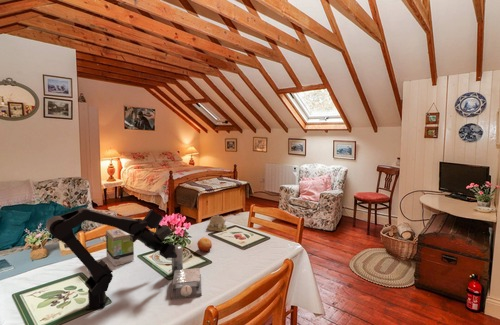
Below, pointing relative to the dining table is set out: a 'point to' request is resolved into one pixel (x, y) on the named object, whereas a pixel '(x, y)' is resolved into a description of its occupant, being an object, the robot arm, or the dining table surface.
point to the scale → (186, 290)
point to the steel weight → (177, 259)
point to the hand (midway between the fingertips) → (171, 253)
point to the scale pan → (186, 276)
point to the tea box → (119, 247)
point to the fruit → (204, 244)
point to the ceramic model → (217, 223)
